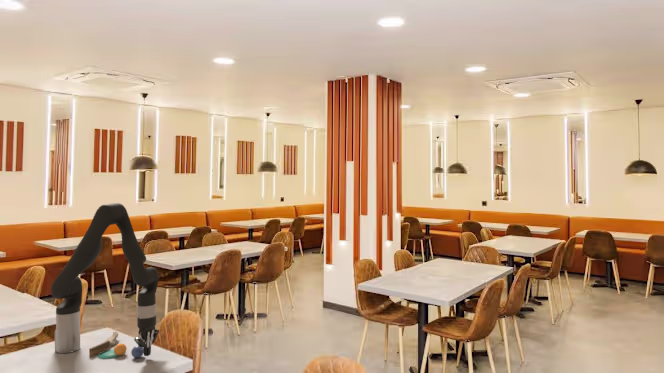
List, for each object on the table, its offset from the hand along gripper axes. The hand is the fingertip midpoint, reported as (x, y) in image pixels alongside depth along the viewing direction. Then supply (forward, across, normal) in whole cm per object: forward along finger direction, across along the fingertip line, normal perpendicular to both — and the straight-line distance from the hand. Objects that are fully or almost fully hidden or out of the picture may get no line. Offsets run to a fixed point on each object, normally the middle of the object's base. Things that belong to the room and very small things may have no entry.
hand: (147, 355), depth 183 cm
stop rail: (+2, 0, -26) cm, 26 cm away
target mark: (+2, 0, -19) cm, 19 cm away
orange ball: (-1, 0, -14) cm, 14 cm away
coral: (+2, -10, -30) cm, 31 cm away
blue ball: (-1, 0, -5) cm, 5 cm away
